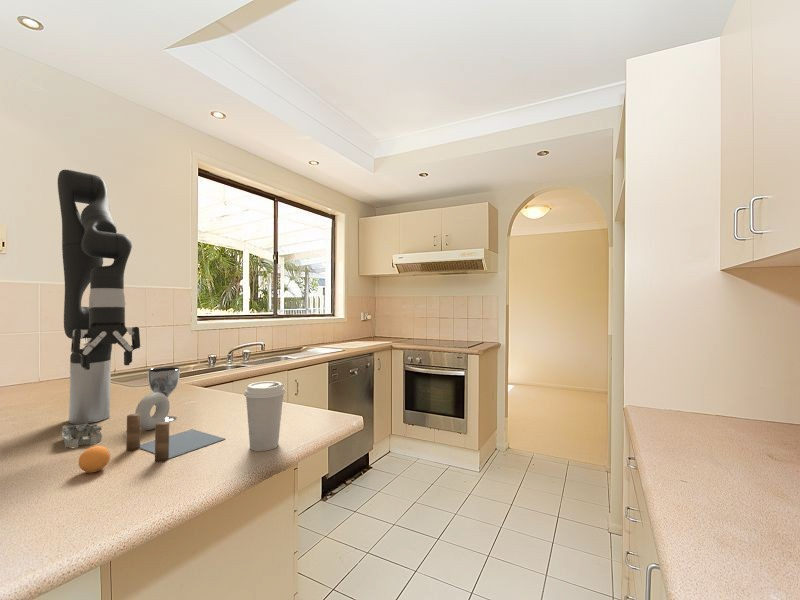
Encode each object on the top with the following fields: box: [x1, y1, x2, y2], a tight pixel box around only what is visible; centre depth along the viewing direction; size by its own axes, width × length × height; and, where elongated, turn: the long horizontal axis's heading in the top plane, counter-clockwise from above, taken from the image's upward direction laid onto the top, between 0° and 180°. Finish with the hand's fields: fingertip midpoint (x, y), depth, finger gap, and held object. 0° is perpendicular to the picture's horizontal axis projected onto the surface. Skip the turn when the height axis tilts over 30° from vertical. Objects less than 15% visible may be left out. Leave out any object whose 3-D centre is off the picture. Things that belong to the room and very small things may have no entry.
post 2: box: [154, 422, 170, 463], centre depth 82 cm, size 3×3×8 cm
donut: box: [134, 392, 171, 431], centre depth 102 cm, size 10×4×10 cm, turn 170°
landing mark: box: [139, 428, 226, 460], centre depth 92 cm, size 14×14×1 cm
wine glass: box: [147, 366, 181, 423], centre depth 110 cm, size 8×8×15 cm
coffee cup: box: [243, 380, 286, 452], centre depth 91 cm, size 10×10×15 cm
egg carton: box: [61, 422, 103, 449], centre depth 93 cm, size 11×8×4 cm
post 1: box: [125, 413, 141, 452], centre depth 88 cm, size 3×3×8 cm
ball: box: [78, 445, 111, 473], centre depth 76 cm, size 5×5×5 cm
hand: (107, 367), depth 98 cm, fingers open, 8 cm apart
